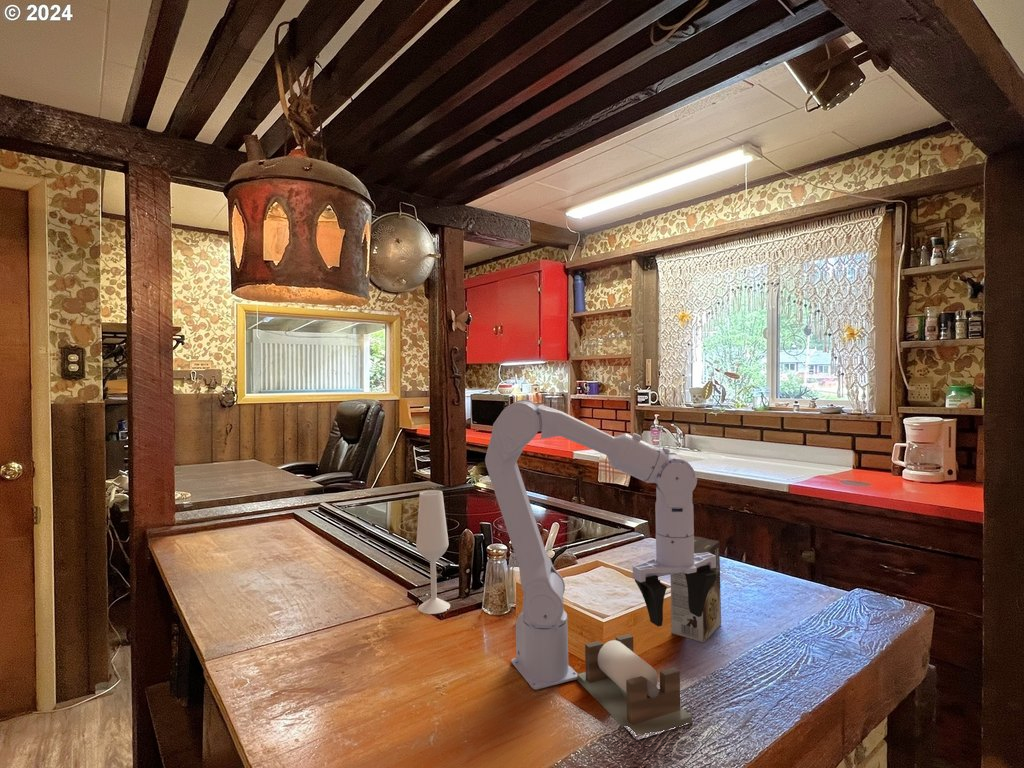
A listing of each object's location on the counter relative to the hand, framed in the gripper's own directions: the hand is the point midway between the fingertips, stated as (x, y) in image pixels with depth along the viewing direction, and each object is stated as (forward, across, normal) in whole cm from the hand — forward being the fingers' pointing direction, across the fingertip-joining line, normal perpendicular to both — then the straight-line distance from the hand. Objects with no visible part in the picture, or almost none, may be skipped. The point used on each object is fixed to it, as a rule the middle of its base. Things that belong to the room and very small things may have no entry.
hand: (676, 618), depth 88 cm
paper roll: (+5, -11, -2) cm, 12 cm away
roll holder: (+9, -10, -2) cm, 14 cm away
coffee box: (+10, +14, +12) cm, 21 cm away
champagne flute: (+10, -28, +43) cm, 52 cm away
